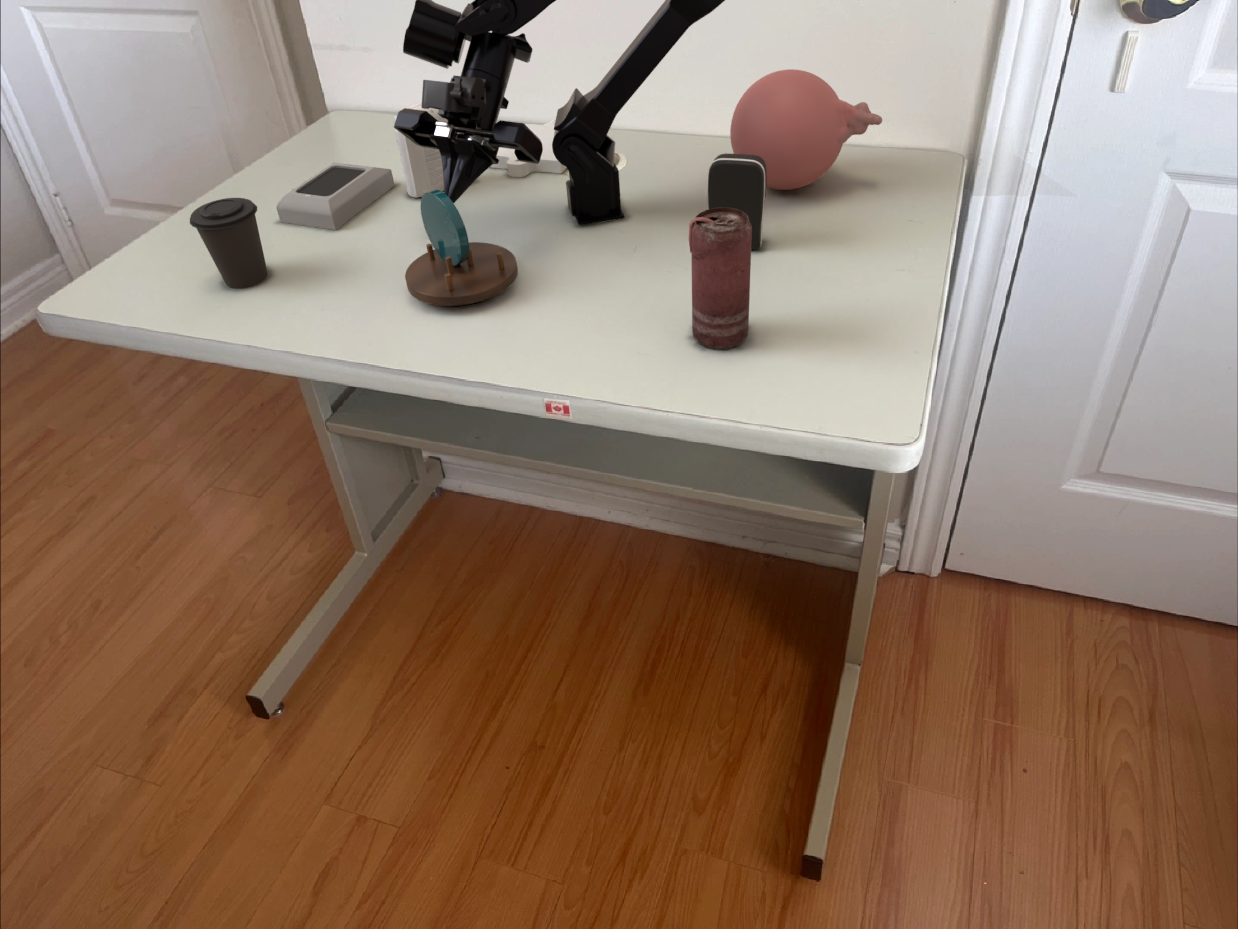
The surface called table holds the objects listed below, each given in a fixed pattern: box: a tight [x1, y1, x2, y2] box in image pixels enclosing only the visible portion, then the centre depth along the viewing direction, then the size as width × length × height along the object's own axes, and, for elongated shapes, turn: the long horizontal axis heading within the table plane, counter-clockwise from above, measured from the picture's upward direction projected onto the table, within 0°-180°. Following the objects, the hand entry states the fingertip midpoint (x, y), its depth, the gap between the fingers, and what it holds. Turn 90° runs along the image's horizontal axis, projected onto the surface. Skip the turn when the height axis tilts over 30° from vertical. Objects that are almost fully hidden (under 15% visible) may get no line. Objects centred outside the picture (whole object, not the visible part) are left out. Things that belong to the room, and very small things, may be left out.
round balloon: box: [729, 68, 883, 191], centre depth 125 cm, size 15×20×15 cm
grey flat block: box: [275, 162, 396, 231], centre depth 134 cm, size 10×4×15 cm
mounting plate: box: [489, 119, 567, 178], centre depth 144 cm, size 18×13×2 cm
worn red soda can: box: [688, 207, 752, 351], centre depth 98 cm, size 6×6×14 cm
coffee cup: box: [189, 197, 269, 290], centre depth 116 cm, size 8×8×10 cm
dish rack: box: [404, 190, 519, 307], centre depth 110 cm, size 14×14×10 cm
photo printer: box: [393, 102, 460, 199], centre depth 134 cm, size 10×4×12 cm, turn 123°
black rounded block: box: [707, 153, 767, 250], centre depth 115 cm, size 7×4×11 cm, turn 74°
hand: (449, 201), depth 114 cm, fingers closed
